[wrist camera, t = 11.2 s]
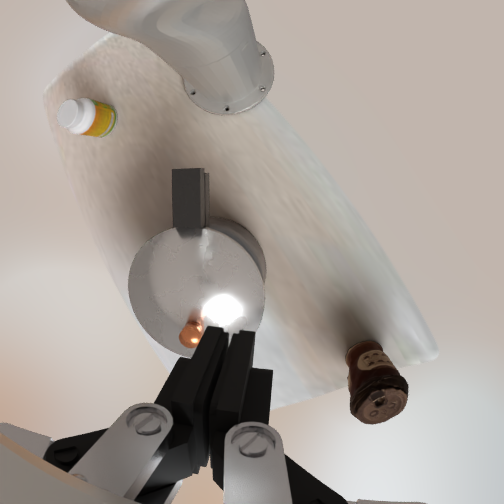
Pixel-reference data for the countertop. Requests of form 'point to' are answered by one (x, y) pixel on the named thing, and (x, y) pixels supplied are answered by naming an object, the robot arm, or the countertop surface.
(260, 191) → the countertop surface
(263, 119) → the countertop surface
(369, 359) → the coffee cup
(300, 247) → the countertop surface
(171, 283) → the cooker lid
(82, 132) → the supplement bottle
